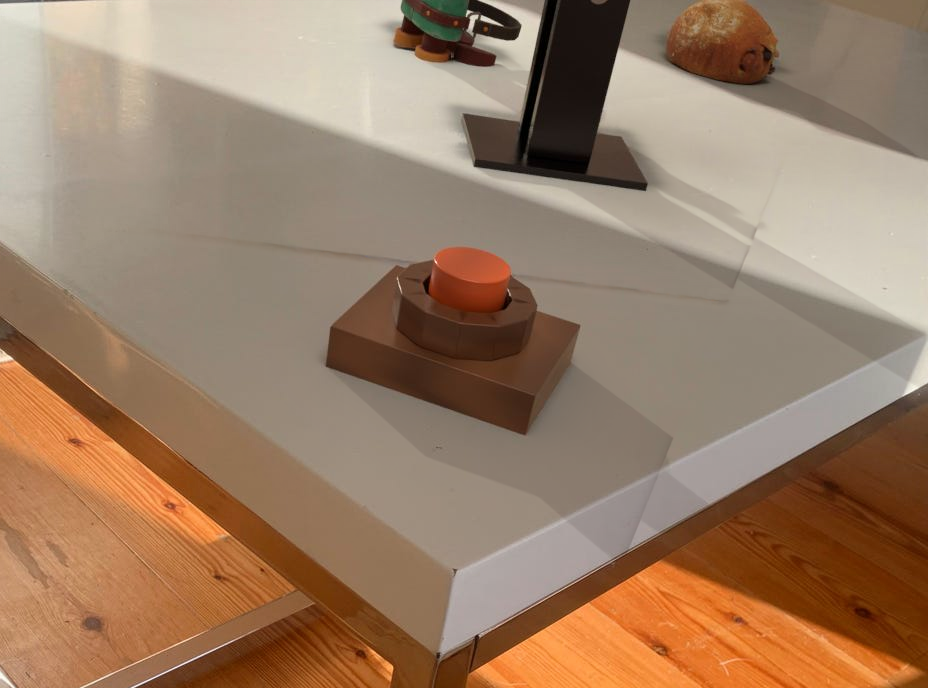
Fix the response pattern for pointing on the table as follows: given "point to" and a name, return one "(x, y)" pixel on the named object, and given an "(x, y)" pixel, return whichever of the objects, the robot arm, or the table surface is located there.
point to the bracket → (563, 103)
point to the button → (469, 280)
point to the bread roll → (723, 42)
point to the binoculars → (452, 30)
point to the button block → (454, 349)
